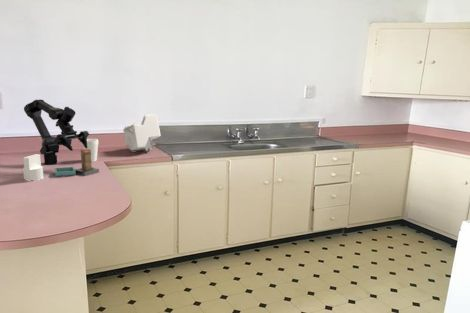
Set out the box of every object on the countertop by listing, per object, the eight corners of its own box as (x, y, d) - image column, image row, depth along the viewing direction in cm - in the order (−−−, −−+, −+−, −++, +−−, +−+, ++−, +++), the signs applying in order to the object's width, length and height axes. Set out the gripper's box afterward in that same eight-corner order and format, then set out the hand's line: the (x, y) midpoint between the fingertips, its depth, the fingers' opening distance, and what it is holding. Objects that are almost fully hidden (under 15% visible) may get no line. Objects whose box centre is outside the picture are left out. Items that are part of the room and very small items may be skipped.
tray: (55, 177, 202) (54, 172, 202) (54, 172, 211) (54, 168, 211) (75, 175, 207) (75, 171, 206) (74, 171, 216) (74, 166, 215)
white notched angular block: (136, 152, 254) (129, 115, 255) (126, 156, 266) (119, 120, 267) (163, 149, 267) (156, 114, 269) (152, 153, 279) (146, 119, 280)
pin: (82, 172, 212) (80, 149, 209) (87, 171, 215) (86, 148, 212) (86, 174, 210) (84, 150, 208) (91, 172, 213) (90, 149, 210)
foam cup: (88, 163, 234) (87, 142, 231) (80, 160, 239) (78, 140, 237) (102, 160, 241) (101, 140, 239) (93, 158, 247) (92, 138, 244)
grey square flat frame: (74, 173, 211) (74, 169, 211) (88, 169, 219) (88, 166, 218) (85, 175, 207) (85, 172, 206) (99, 172, 214) (99, 168, 214)
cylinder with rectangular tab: (35, 181, 194) (33, 158, 191) (19, 180, 196) (17, 157, 193) (47, 177, 203) (45, 154, 200) (32, 175, 204) (30, 153, 202)
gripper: (74, 134, 228) (88, 155, 225) (45, 138, 213) (58, 160, 209) (82, 122, 222) (96, 143, 219) (52, 125, 207) (66, 148, 203)
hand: (79, 149), depth 213 cm, fingers open, 9 cm apart
